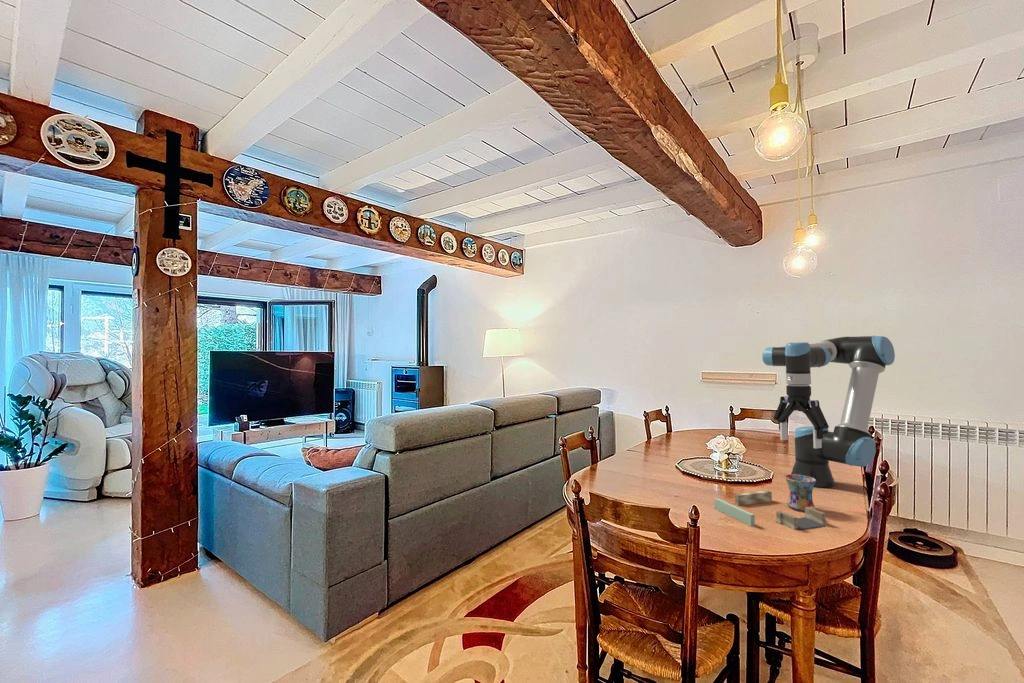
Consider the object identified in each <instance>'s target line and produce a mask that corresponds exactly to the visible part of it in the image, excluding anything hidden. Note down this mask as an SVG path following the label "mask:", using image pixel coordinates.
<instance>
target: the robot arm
mask: <svg viewBox="0 0 1024 683" xmlns="http://www.w3.org/2000/svg"><path fill="white" fill-rule="evenodd" d="M891 341H892V340H890V339H889V338H888V337H886V336H884V335H871V336H870V335H868V336H867V335H866V336H840V337H834V338H830V339H824V340H819V341H817V342H815V343H809V342H806V341H805V342H802V341H801V342H800V341H799V342H788V343H786V344H785V346H778V347H776V346H772V347H766V348H764V350H763V351H762V354H761V356H762V362H763V364H765V365H766V366H769V367H785V381H786V384H787V385H786V387H785V390H786V395H787V396H780V398H779V404H778V405H777V408H776V411H775V414H774V416H773V419H774V421H777V422H778V430H779V434H780V441H788V440H789V433H788V432H789V431H788V430H789V429H788V428H789V426H788V422H787V420H788V419H789V417H790V416H791V415H792V413H794V412H795V411H797V412H802V414H804V415H805V416H806V418H807V419H808V420H809V422H810V423H811V425H812V426H801V427H800V426H799V427H797V428H796V429H795V430H794V454H795V455H794V457H795V458H794V459H795V461H794V465H793V467H792V470H791V472H790V474H797V475H804V476H809V477H812V478H814V479H816V483H815V484H814V487H815V488H831V487H834V486H835V478H834V477H833V474H832V470H831V468H830V463H829V462H834V463H839V464H843V465H848V466H850V467H854V466H855V467H859V468H862V467H863V468H864V467H867V466H868V465H870V464H871V462H873V460H874V458H875V455H876V453H877V448H876V446H877V444H876V441H875V440H874V438H872V434H871V432H869V430H868V427H869V423H870V418H871V413H872V408H873V404H874V398H875V393H876V389H877V385H878V384H877V383H878V380H879V374H881V373H883V372H885V369H886V366H891V365H893V363H894V362H895V357H896V355H895V354H896V353H895V348H894V346H893V343H892V342H891ZM829 363H835V364H845V365H846V364H847V365H848V366H849V368H851V373H850V374H851V375H850V378H849V381H848V382H849V383H848V387H847V391H846V397H845V400H844V406H843V409H842V414H841V417H840V423H839V424H837V425H835V426H834V428H833V431H830V430H829V428H830V426H829V424H828V422H827V419H826V418H825V415H824V413H823V411H822V409H821V406H820V400H818V399H817V400H815V399H814V400H811V396H812V386H810V385H811V384H812V378H811V374H812V373H811V368H821V367H825V366H827V365H828V364H829ZM814 487H813V488H814Z"/></svg>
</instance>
